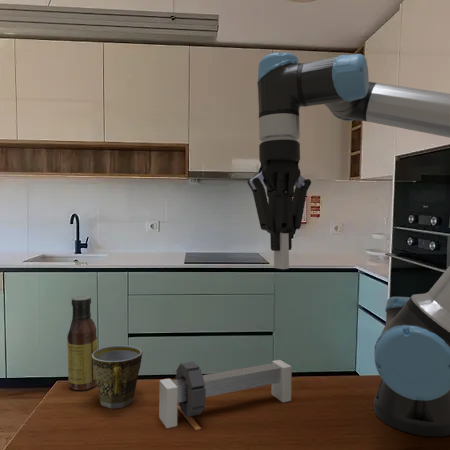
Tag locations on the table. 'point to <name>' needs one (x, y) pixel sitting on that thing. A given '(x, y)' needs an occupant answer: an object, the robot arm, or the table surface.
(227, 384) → the light grey bar
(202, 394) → the ring
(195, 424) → the stand
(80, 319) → the sauce bottle
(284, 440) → the table surface
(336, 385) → the table surface
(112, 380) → the ceramic cup
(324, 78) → the robot arm
